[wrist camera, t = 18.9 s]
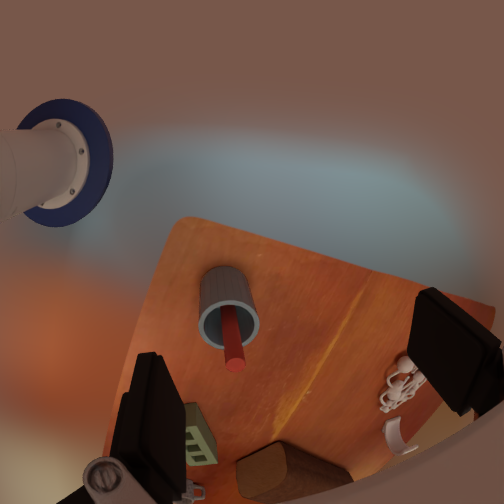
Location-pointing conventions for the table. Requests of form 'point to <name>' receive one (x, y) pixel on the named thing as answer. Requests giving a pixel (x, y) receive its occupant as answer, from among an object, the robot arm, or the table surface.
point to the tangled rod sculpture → (401, 385)
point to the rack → (198, 438)
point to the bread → (286, 475)
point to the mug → (191, 493)
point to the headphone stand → (395, 437)
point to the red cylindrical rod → (232, 339)
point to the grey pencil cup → (226, 293)
